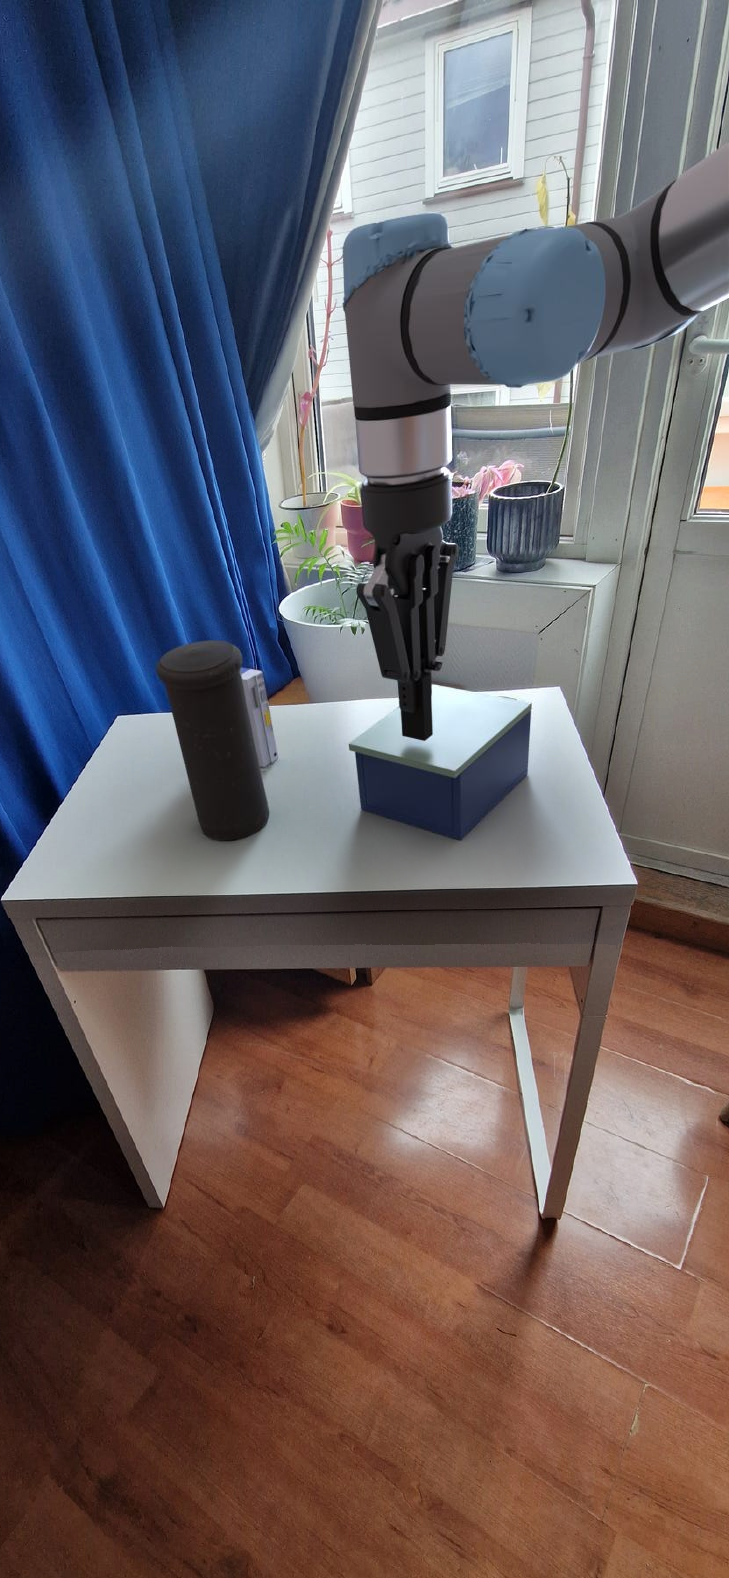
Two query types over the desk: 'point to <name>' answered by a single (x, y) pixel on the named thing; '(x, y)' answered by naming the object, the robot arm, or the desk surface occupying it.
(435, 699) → the case lid
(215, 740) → the container
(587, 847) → the desk surface
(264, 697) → the walkman
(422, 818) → the case
